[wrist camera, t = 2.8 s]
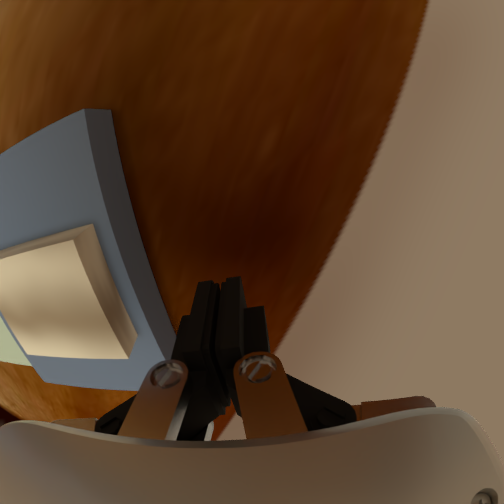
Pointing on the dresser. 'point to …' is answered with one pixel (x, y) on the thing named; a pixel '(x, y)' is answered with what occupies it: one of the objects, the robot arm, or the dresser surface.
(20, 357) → the mat
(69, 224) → the slate blue tile
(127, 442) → the robot arm
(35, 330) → the birch block
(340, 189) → the dresser surface
